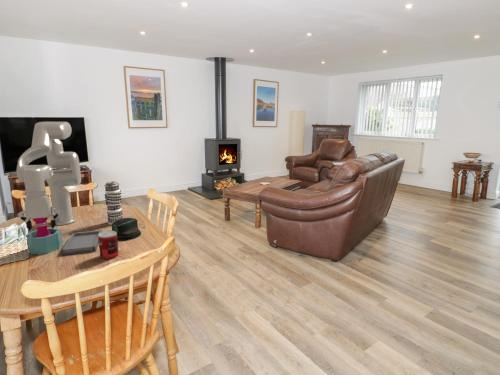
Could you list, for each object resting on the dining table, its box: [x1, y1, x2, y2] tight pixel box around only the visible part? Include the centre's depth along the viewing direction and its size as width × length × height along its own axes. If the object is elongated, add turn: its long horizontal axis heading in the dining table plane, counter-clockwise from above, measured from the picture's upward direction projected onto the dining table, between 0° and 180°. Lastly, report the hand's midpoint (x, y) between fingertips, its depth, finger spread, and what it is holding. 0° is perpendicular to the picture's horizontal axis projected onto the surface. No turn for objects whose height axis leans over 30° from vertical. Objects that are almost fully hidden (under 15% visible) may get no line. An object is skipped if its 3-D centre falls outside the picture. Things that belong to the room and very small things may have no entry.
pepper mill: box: [32, 217, 51, 238], centre depth 147 cm, size 7×7×20 cm
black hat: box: [111, 217, 142, 242], centre depth 164 cm, size 20×20×9 cm
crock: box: [25, 227, 63, 256], centre depth 148 cm, size 14×14×8 cm
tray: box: [61, 229, 103, 256], centre depth 154 cm, size 22×14×3 cm, turn 18°
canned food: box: [98, 230, 120, 260], centre depth 140 cm, size 8×8×11 cm
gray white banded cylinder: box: [104, 181, 124, 226], centre depth 182 cm, size 9×9×25 cm
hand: (42, 228), depth 146 cm, fingers open, 9 cm apart
